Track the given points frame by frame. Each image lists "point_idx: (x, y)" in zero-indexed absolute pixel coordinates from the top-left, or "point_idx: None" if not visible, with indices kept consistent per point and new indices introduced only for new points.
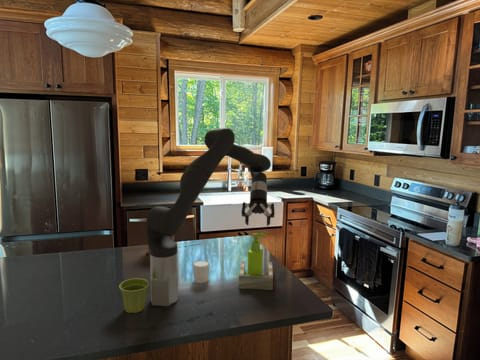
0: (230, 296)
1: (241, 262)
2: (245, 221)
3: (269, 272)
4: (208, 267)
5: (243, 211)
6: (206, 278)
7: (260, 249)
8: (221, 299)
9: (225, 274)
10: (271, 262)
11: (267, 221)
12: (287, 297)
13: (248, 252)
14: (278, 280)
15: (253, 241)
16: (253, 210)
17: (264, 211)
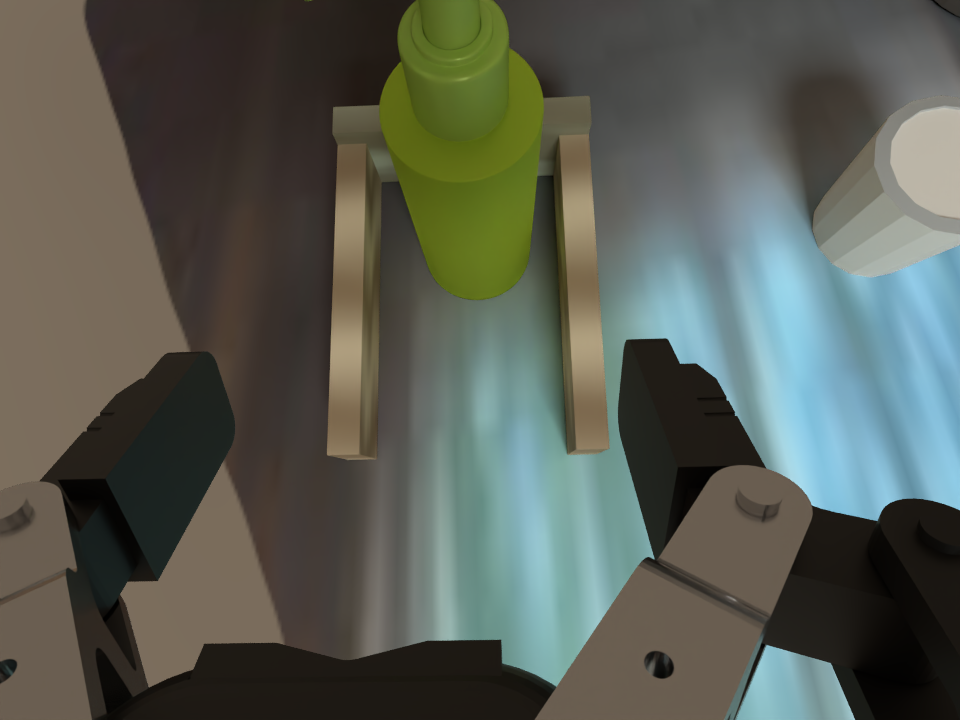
0: (613, 49)
1: (606, 407)
2: (706, 377)
3: (358, 235)
4: (865, 154)
5: (952, 580)
6: (829, 192)
7: (405, 129)
8: (659, 11)
9: (709, 344)
10: (330, 444)
11: (170, 379)
12: (274, 85)
13: (535, 82)
14: (307, 298)
15: (481, 10)
16: (548, 683)
17: (89, 629)
